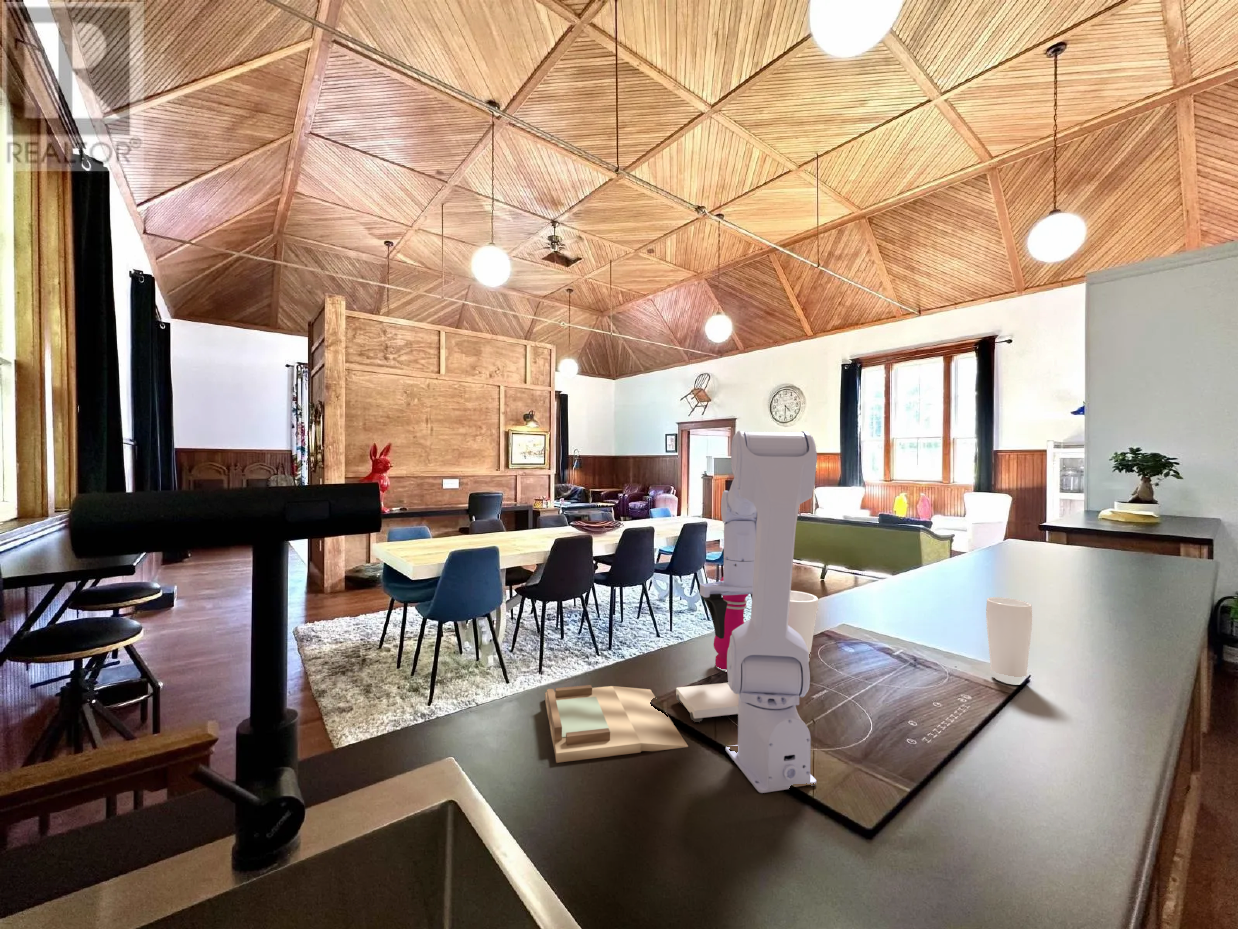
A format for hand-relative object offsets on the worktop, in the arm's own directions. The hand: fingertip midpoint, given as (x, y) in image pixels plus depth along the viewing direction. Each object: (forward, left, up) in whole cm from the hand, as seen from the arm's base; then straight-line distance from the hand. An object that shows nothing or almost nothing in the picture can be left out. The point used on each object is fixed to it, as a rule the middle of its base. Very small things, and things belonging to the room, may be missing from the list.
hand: (739, 635), depth 86 cm
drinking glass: (-7, -52, -10) cm, 53 cm away
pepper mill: (+9, -3, -10) cm, 14 cm away
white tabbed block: (-6, +8, -10) cm, 14 cm away
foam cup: (+11, -18, -10) cm, 23 cm away
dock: (-6, +25, -11) cm, 28 cm away
